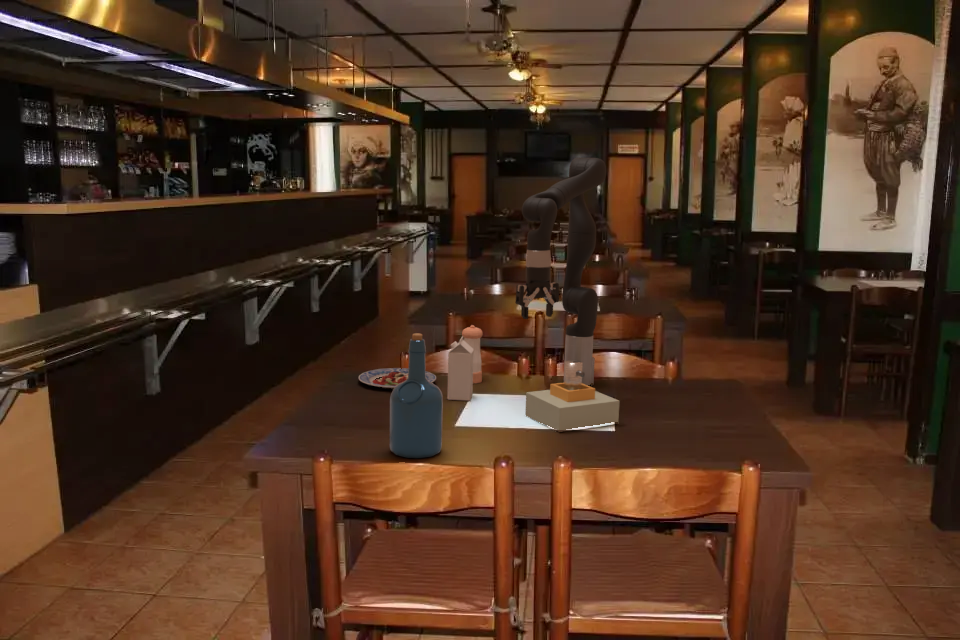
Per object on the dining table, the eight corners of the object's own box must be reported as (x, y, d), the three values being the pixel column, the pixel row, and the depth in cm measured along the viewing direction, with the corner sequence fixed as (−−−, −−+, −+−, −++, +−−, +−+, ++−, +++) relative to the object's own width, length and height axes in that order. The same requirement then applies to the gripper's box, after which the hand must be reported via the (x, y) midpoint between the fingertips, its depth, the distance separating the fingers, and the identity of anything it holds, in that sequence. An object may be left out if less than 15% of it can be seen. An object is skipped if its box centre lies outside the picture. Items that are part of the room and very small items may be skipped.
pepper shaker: (471, 377, 287) (473, 322, 284) (486, 381, 282) (487, 325, 279) (456, 380, 283) (457, 324, 279) (470, 384, 277) (471, 328, 274)
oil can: (560, 395, 240) (561, 361, 238) (574, 393, 242) (576, 359, 240) (574, 401, 233) (575, 366, 232) (588, 399, 236) (590, 365, 234)
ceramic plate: (385, 370, 295) (385, 362, 294) (449, 380, 283) (450, 371, 283) (342, 386, 272) (342, 377, 271) (410, 397, 261) (410, 388, 260)
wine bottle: (401, 440, 217) (402, 327, 212) (449, 446, 214) (451, 331, 209) (380, 456, 204) (380, 336, 199) (431, 463, 201) (433, 341, 196)
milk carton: (472, 395, 264) (474, 336, 261) (470, 401, 257) (471, 340, 254) (450, 394, 265) (451, 335, 261) (447, 400, 258) (448, 339, 254)
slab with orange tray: (580, 407, 253) (582, 375, 251) (618, 424, 237) (620, 390, 235) (523, 414, 244) (525, 381, 242) (558, 432, 227) (560, 397, 226)
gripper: (551, 262, 258) (549, 313, 261) (511, 264, 251) (510, 317, 254) (564, 264, 251) (563, 317, 254) (524, 267, 244) (523, 321, 247)
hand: (537, 317), depth 254 cm, fingers open, 8 cm apart
